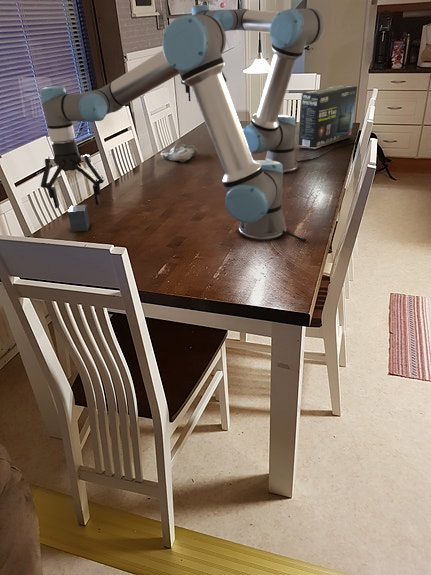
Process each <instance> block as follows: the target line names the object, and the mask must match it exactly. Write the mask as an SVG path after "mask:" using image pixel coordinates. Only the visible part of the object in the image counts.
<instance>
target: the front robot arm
mask: <svg viewBox="0 0 431 575" xmlns="http://www.w3.org/2000/svg"><path fill="white" fill-rule="evenodd" d="M226 45H227V35H226V31H225V30H224V28H223V26H222V25H221V23H220V22H219V21H218V20H217V19H216V18H214V17H212V16H210V15H192V14H184V15H182V16H179V17H176V18H175V19H173V20H172V21H171V22H170V23H169V24H168V25H167V26H166V28H165V31H164V33H163V36H162V50H161V51H159V52H157V53H156V54H154V55H153V56H151V57H149V58H148V59H146V60H145V61H143V62H141V63H140V64H138V65H137V66H135V67H134V68H132V69H130V70H129V71H127V72H126V73H124V74H122V75H121V76H119V77H118V78H116V79H114V80H112V81H111V82H109V83H108V84H107V85H104V86H102V87H101V88H98V89H95V90H90V91H87V92H84V93H68V92H67V90H66V88H65V86H62V85H54V86H53V85H52V86H47V87H43V88H41V89H40V91H39V95H40V101H41V106H42V110H43V113H44V117H45V121H46V124H47V125H46V126H47V131H48V135H49V139H50V142H51V146H52V148H51V149H52V152H53V156H54V157H50V156H47V157H46V158H45V159H44V170H43V174H42V178H41V182H40V188H43V189H46V190H47V192H48V196H49V198H50V199H52V201H53V204H54V209H58V208H59V207H60V202H59V198H58V194H57V189H56V186H53V185H54V184H55V182H56V180H57V179H58V177H59V175H60V174H61V172H62V171H64V172H68V171H71V172H72V171H73V172H74V171H78V172H79V173H80V174H82V175H83V176H84V177H85V178H86V179H87V180H88V181H89V182H90V183H92V184H93V185H92V189H93V194H94V195H93V196H94V200H95V206H99V205H100V203H101V200H100V195H101V193H102V191H101V190H102V189H101V184H103V183H104V181H105V177H104V175H102V174H101V173H102V172H100V170H99V169H98V168H97V166H96V165H95V163H94V162H93V161H92V159H91V156H90V154H89V153H85V154H84V155H80V153H79V147H78V143H77V142H78V141H77V140H76V133H75V128H74V124H73V122H88V123H89V122H90V123H95V122H102V121H103V120H104V119H105V117H106V116H107V115H108V114H111V113H112V114H113V113H117V112H118V111H120V110H122V108H123V107H125V106H126V105H127V104H129V103H131V102H133V101H135V100H136V99H138V98H140V97H142V96H143V95H145V94H147V93H148V92H150V91H152V90H154V89H156V88H157V87H160V86H161V85H162V84H164V83H166V82H168V81H169V80H171V79H174V78H175V77H177V76H178V75H179V76H180V80H182V81H183V83H185V84H187V85H189V86H190V89H191V90H192V92H193V95H194V99H195V100H196V101H195V102H196V103H197V105H198V108H199V111H200V113H201V116H202V118H203V121H204V123H205V127H206V129H207V131H208V134H209V136H210V139H211V142H212V144H213V147H214V149H215V152H216V154H217V157H218V160H219V162H220V164H221V167H222V169H223V172H224V175H223V178H222V185H223V187H224V189H225V193H226V196H225V200H224V205H225V208H226V211H227V213H228V214H229V215H230V217H231V218H232V219H234V220H236V221H238V222H239V226H238V232H239V235H240V236H241V237H242V238H244V239H247V240H250V241H254V242H271V241H277V240H279V239H281V238H283V237H285V235H287V236H289V237H292V238H293V239H296V240H298V241H301V242H307V239H306V238H303V237H300V236H298V235H296V234H295V233H291V232H289V231H287V223H286V221H285V216H284V214H283V210H282V200H283V181H284V180H283V179H284V173H283V166H282V164H281V163H280V162H277V161H270V160H265V159H254V158H253V156H252V153H251V152H250V150H249V147H248V144H247V142H246V139H245V136H244V133H243V128H242V125H241V123H240V120H239V117H238V115H237V112H236V109H235V106H234V103H233V101H232V98H231V95H230V92H229V89H228V87H227V85H226V82H225V81H224V78H223V76H222V72H223V69H224V68H225V60H224V58H223V53H224V51H225V49H226ZM81 161H83V163H86V165H87V167H88V168H89V170H90V171H91V172H90V171H89V170H88V169H86V167H84V165H83V164H81ZM54 163H55V165H57V166H58V167H57V168H56V170H55V172H54V173H53V176H52V177H51V179H49V174H50V172H51V167H52V165H53V164H54ZM48 179H49V182H48Z"/></svg>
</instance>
